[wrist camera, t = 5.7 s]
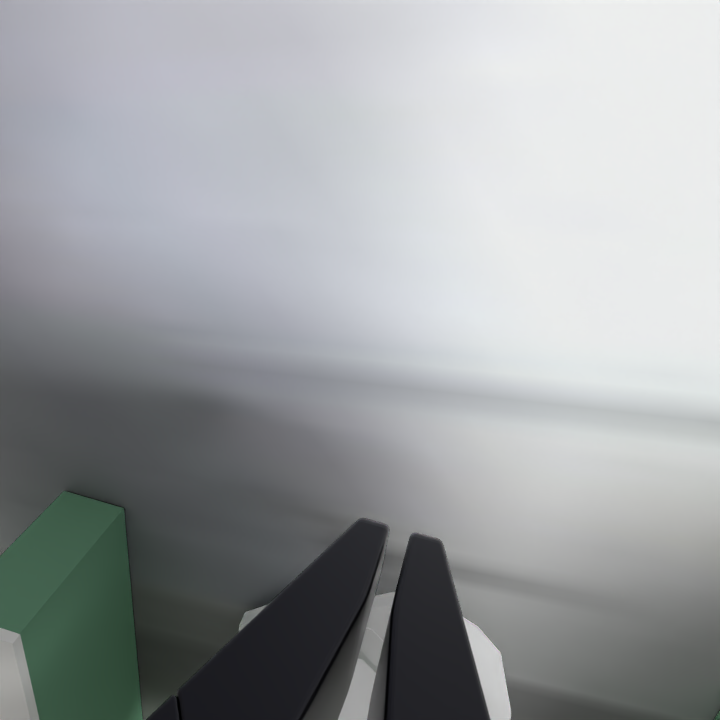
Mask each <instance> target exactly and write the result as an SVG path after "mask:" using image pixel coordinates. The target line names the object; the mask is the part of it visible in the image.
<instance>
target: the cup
mask: <svg viewBox="0 0 720 720" xmlns="http://www.w3.org/2000/svg"><path fill="white" fill-rule="evenodd" d="M394 595H395V591H394V592H390V593H385V594H381V595H376V596H375V597H374V601H373V604H372V608H371V612H370V615H369V619H368V623H367V626H366V630H365V634H364V638H363V641H362V645H361V649H360V652H359V656H358V660H357V663H356V667H355V671H354V674H353V678H352V681H351V684H350V688H349V691H348V694H347V697H346V699H345V702H344V705H343V707H342V710H341V713H340V715H339V717H338V720H367V717H368V711H369V704H370V698H371V694H372V689H373V685H374V680H375V676H376V672H377V667H378V663H379V659H380V655H381V650H382V646H383V642H384V638H385V633H386V629H387V625H388V620H389V616H390V612H391V608H392V603H393V599H394ZM266 606H267V605H265V606H262V607H259V608H256V609H253V610H250V611H247V612H245V613H244V616H243V618H242V620H241V623H240V625H239V632H240V631H241V630H242V629H243V628H244V627H245V626H246V625H247V624H248V623H249V622H250V621H251V620H252V619H253V618H254V617H255V616H256V615H257V614H259V613H260V612H261V611H262V610H263V609H264V608H265V607H266ZM463 619H464V623H465V626H466V630H467V634H468V638H469V641H470V645H471V649H472V652H473V656H474V660H475V663H476V667H477V671H478V675H479V678H480V682H481V686H482V689H483V693H484V697H485V700H486V704H487V708H488V712H489V715H490V719H491V720H511V707H510V702H509V696H508V690H507V685H506V679H505V673H504V668H503V662H502V657H501V652H500V651H499V650H498V649H497V648H496V647H495V645H494V644H493V643H492V642H491V641H490V640H489V639H488V637H487V636H486V635H485V634H484V633H483V632H482V630H481V629H480V628H479V627H478V626H477V625H475V624H474V623H472V622H470V621H469V620H467V619H465V618H464V617H463Z"/></svg>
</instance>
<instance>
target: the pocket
mask: <svg viewBox="0 0 720 720" xmlns="http://www.w3.org/2000/svg"><path fill="white" fill-rule="evenodd" d="M0 720H143V718H142V707H141V696H140V684H139V673H138V662H137V650H136V639H135V628H134V616H133V605H132V594H131V582H130V571H129V560H128V548H127V537H126V526H125V514H124V508H121V507H118V506H115V505H111V504H108V503H104V502H101V501H97V500H94V499H90V498H87V497H84V496H80V495H77V494H73V493H70V492H66V491H63V492H62V493H61V495H60V496H59V497H58V498H57V499H56V500H55V501H54V502H53V503H52V504H51V505H50V506H49V507H48V508H47V509H46V510H45V511H44V512H43V513H42V514H41V515H40V516H39V517H38V518H37V519H36V520H35V521H34V522H33V523H32V524H31V525H30V526H29V527H28V528H27V529H26V530H25V531H24V532H23V533H22V534H21V535H20V536H19V537H18V538H17V539H16V540H15V542H14V543H13V544H12V545H11V546H10V547H9V548H8V549H7V550H6V551H5V552H4V553H3V554H2V555H1V556H0ZM714 720H720V711H719V713H718V714H717V716H716V717H715V719H714Z"/></svg>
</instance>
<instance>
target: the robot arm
mask: <svg viewBox="0 0 720 720" xmlns="http://www.w3.org/2000/svg"><path fill="white" fill-rule="evenodd" d="M389 531H390V529H389V526H388V525H387V524H384V523H381V522H377V521H373V520H370V519H366V518H361V519H358V520H357V521H356V522H355V523H354V524H353V525H352V526H351V527H349V528H348V529H347V530H346V531H345V532H344V533H343V534H342V535H341V536H340V537H339V538H338V539H337V540H336V541H335V542H334V543H333V544H331V545H330V546H329V547H328V548H327V549H326V550H325V551H324V552H323V553H322V554H321V555H320V556H319V557H318V558H317V559H316V560H315V561H314V562H312V563H311V564H310V565H309V566H308V567H307V568H306V569H305V570H304V571H303V572H302V573H301V574H300V575H299V576H298V577H297V578H296V579H294V580H293V581H292V582H291V583H290V584H289V585H288V586H287V587H286V588H285V589H284V590H283V591H282V592H281V593H280V594H279V595H278V596H277V597H275V598H274V599H273V600H272V601H271V602H270V603H269V604H268V605H267V606H266V607H265V608H264V609H263V610H262V611H261V612H260V613H259V614H257V615H256V616H255V617H254V618H253V619H252V620H251V621H250V622H249V623H248V624H247V625H246V626H245V627H244V628H243V629H242V630H241V631H240V632H238V633H237V634H236V635H235V636H234V637H233V638H232V639H231V640H230V641H229V642H228V643H227V644H226V645H225V646H224V647H223V648H222V649H220V650H219V651H218V652H217V653H216V654H215V655H214V656H213V657H212V658H211V659H210V660H209V661H208V662H207V663H206V664H205V665H204V666H203V667H201V668H200V669H199V670H198V671H197V672H196V673H195V674H194V675H193V676H192V677H191V678H190V679H189V680H188V681H187V682H186V683H185V684H183V685H182V686H181V687H180V688H179V689H178V691H177V697H176V696H175V695H172V696H170V697H169V698H168V699H167V700H166V701H165V702H164V703H163V704H162V705H161V706H160V707H159V708H158V709H157V710H156V711H155V712H153V713H152V714H151V715H150V716H149V717H148V718H147V719H146V720H338V717H339V715H340V713H341V710H342V707H343V705H344V702H345V699H346V697H347V694H348V691H349V688H350V684H351V681H352V678H353V674H354V671H355V667H356V663H357V660H358V656H359V652H360V649H361V645H362V641H363V638H364V634H365V630H366V626H367V623H368V619H369V615H370V612H371V608H372V604H373V601H374V597H375V593H376V589H377V586H378V582H379V578H380V574H381V570H382V565H383V561H384V556H385V551H386V546H387V542H388V537H389ZM367 720H491V719H490V715H489V712H488V708H487V704H486V700H485V697H484V693H483V689H482V686H481V682H480V678H479V675H478V671H477V667H476V663H475V660H474V656H473V652H472V649H471V645H470V641H469V638H468V634H467V630H466V626H465V623H464V619H463V615H462V612H461V608H460V604H459V601H458V597H457V593H456V589H455V586H454V582H453V578H452V575H451V571H450V567H449V563H448V560H447V556H446V552H445V549H444V545H443V543H442V541H441V540H440V539H438V538H434V537H431V536H427V535H424V534H420V533H412V534H411V535H410V538H409V541H408V545H407V549H406V553H405V557H404V561H403V564H402V568H401V572H400V576H399V580H398V584H397V587H396V591H395V595H394V599H393V603H392V608H391V612H390V616H389V620H388V625H387V629H386V633H385V638H384V642H383V646H382V650H381V655H380V659H379V663H378V667H377V672H376V676H375V680H374V685H373V689H372V694H371V698H370V704H369V711H368V717H367Z"/></svg>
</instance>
